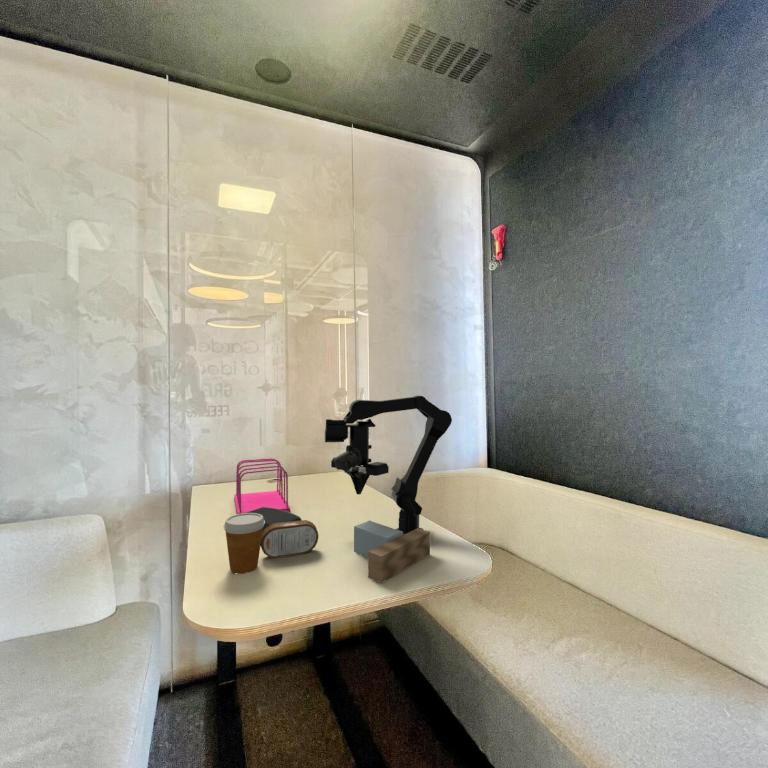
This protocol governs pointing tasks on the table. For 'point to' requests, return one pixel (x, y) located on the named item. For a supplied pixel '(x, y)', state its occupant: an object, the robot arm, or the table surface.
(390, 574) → the batten
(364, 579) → the table surface
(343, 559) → the table surface
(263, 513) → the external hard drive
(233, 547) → the disposable coffee cup
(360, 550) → the block
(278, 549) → the tin
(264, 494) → the file sorter
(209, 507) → the table surface
